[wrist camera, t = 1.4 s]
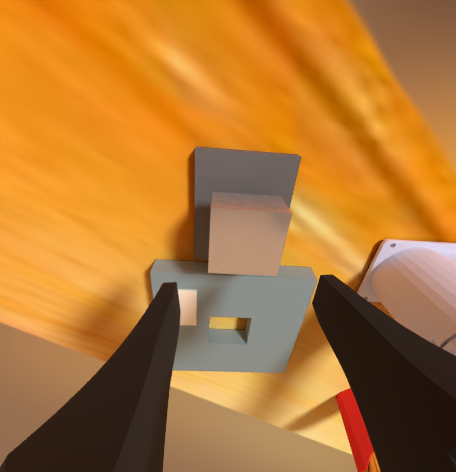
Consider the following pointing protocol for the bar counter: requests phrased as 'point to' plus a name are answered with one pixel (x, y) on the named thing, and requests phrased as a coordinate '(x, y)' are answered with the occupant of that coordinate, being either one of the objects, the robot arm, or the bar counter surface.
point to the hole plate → (236, 315)
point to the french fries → (357, 433)
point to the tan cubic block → (247, 233)
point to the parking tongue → (237, 182)
